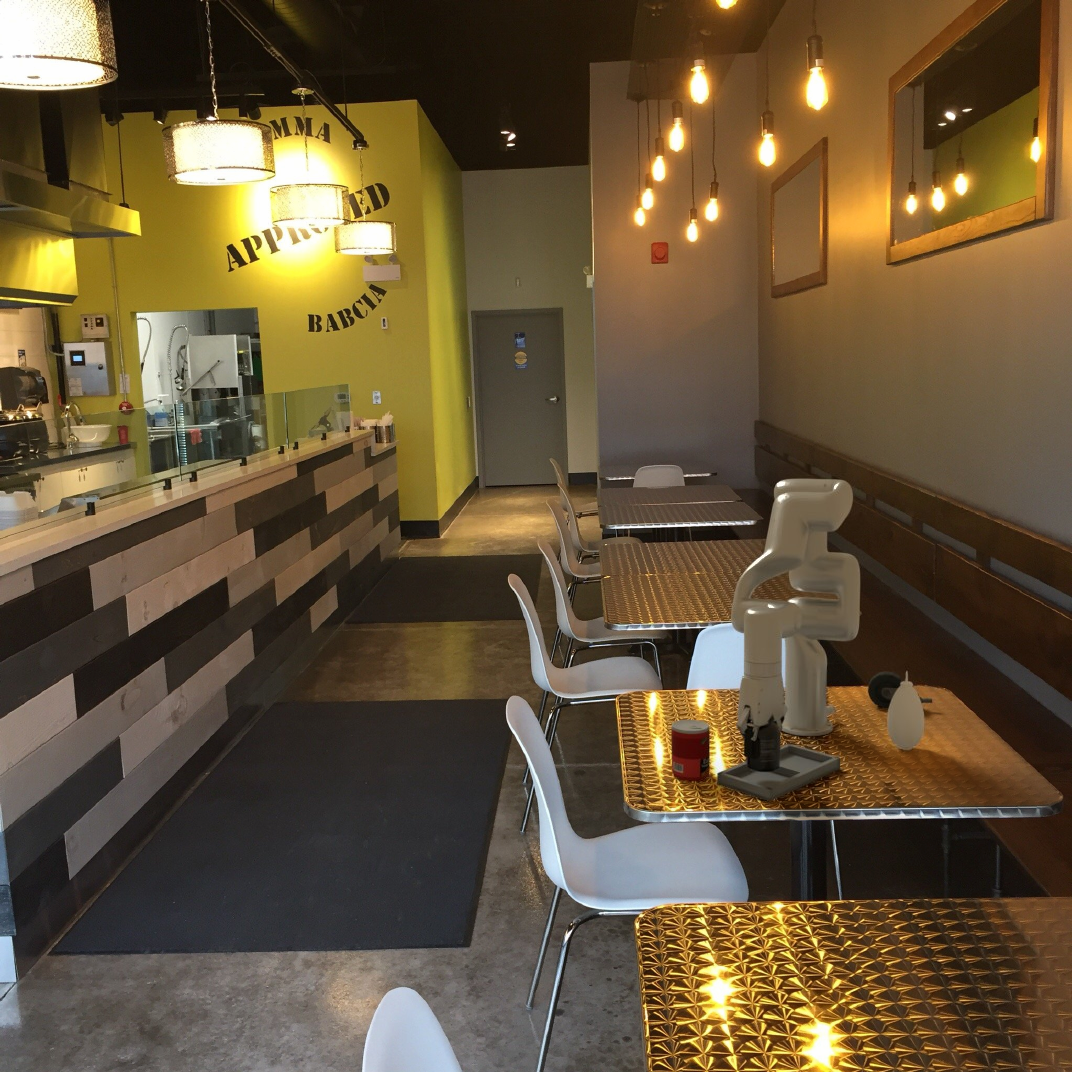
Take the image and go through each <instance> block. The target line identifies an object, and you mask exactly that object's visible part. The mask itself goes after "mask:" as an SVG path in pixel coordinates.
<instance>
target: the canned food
mask: <svg viewBox="0 0 1072 1072" xmlns="http://www.w3.org/2000/svg"><path fill="white" fill-rule="evenodd" d="M670 727H671V772H672V775H673V777H674V778H676V779H677V780H682V781H686V782H700V781H702V780H706V779H708V777H709V776H710V769H711V768H710V765H711V763H710V761H711V760H710V759H711V758H710V750H711V749H710V748H711V747H710V744H711V743H710V742H711V741H710V739H711V738H710V736H711V734H710V724H709V723H707V722H706V721H703V720H700V719H679V720H675V721H674V722H672V723H671V726H670Z"/></svg>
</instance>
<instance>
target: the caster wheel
mask: <svg viewBox="0 0 1072 1072" xmlns="http://www.w3.org/2000/svg"><path fill="white" fill-rule="evenodd" d="M903 681H904V679H903V678H902V677H901V676H900V675H899V674H897V673H895V672H892V671H887V670H886V671H881V672H878V673H876V674H874V676H873V675H872V678H871V679H870V681H869V682H868V686H867V695H868V697H869V699H870V701H871V702H872V703H873V704H874V705H875V706H877V707H879V708H881V709H885V708H889V706H890V703H891V700H892V698H893V696H894V694H895V692H896V690H897V689H898V688H899V687H900V686H901V685H900V683H901V682H903ZM912 687H913V688H914V685H913V686H912ZM917 694H918V696H919V698H920V701H921V704H922V705H923V704H929V703H930V704H932V703H933V698H931V697H930V698H929V697H927V698H926V697H925V698H922V697H921V696H920V694H919V693H918V692H917Z"/></svg>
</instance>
